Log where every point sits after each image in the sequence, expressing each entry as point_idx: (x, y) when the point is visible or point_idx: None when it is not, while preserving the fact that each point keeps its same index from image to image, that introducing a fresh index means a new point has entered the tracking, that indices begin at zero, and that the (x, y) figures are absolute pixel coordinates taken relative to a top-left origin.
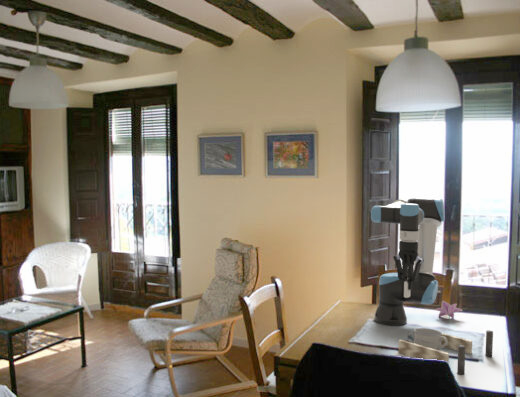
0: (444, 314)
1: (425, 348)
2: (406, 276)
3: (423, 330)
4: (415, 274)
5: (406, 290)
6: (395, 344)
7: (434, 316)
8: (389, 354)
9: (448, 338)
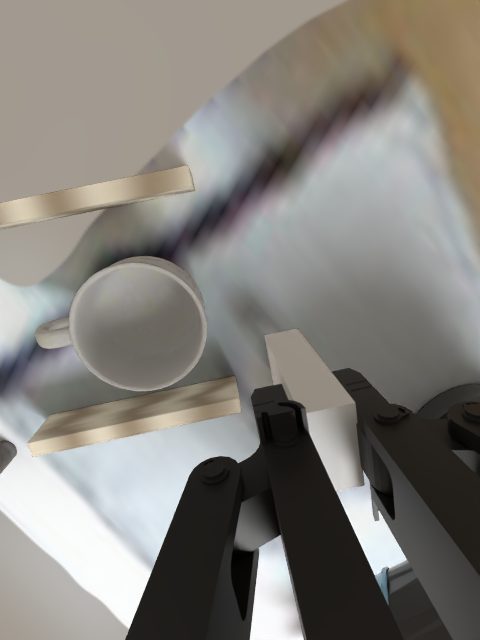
0: None
1: (41, 194)
2: (395, 511)
3: (194, 353)
4: (151, 594)
5: (285, 359)
6: (268, 244)
7: None
8: (195, 118)
9: (126, 416)
